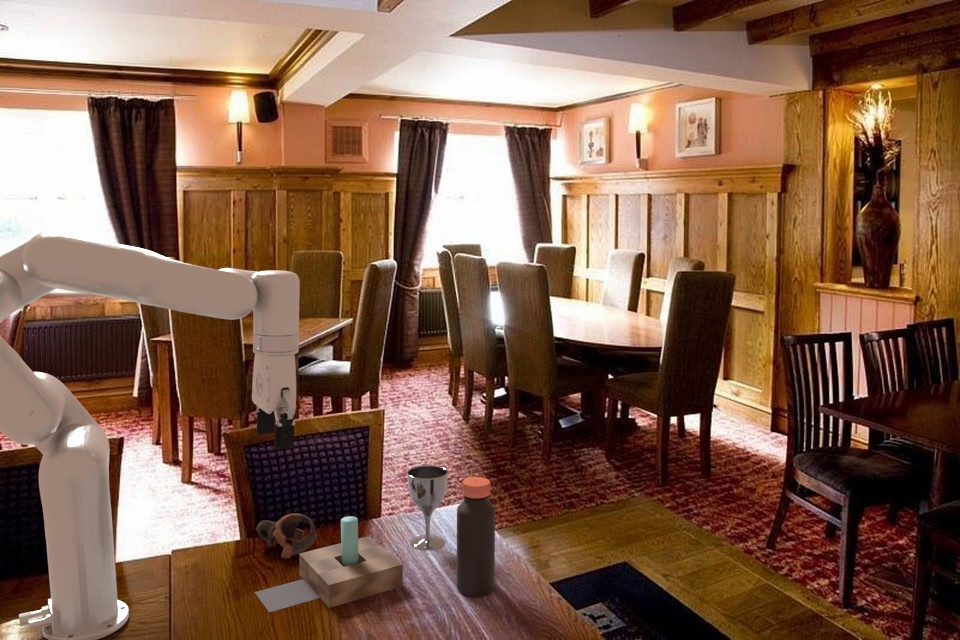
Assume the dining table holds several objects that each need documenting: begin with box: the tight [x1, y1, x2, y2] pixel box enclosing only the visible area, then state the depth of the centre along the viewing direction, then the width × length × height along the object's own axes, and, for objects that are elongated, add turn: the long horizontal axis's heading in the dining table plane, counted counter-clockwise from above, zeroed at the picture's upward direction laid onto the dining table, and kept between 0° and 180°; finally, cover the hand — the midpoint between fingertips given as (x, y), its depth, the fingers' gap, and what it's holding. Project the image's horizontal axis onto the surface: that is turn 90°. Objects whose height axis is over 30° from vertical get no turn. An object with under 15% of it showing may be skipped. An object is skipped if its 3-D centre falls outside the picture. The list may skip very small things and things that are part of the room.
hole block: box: [298, 535, 404, 609], centre depth 142 cm, size 14×14×4 cm
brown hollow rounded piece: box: [255, 512, 318, 559], centre depth 154 cm, size 12×10×8 cm
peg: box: [340, 515, 359, 567], centre depth 141 cm, size 3×3×12 cm
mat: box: [254, 578, 321, 613], centre depth 137 cm, size 10×8×1 cm
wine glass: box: [407, 464, 448, 551], centre depth 157 cm, size 8×8×15 cm
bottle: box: [456, 476, 496, 597], centre depth 139 cm, size 7×7×20 cm
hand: (274, 440), depth 135 cm, fingers open, 9 cm apart
